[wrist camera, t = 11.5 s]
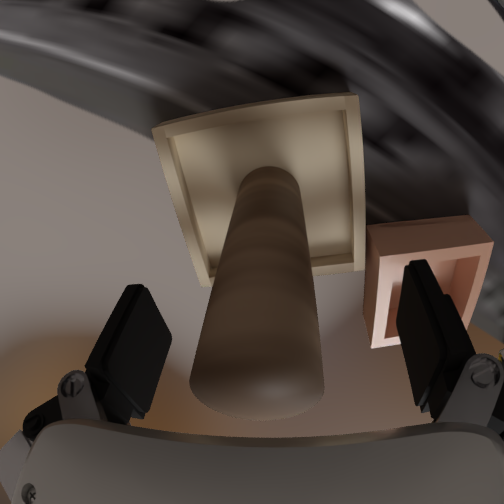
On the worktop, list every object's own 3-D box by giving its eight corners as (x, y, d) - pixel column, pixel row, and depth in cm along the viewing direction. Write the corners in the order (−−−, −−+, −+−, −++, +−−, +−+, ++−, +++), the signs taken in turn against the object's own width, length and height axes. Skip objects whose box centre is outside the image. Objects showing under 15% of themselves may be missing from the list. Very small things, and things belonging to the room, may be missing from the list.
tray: (162, 122, 19) (151, 128, 17) (350, 91, 17) (358, 95, 15) (206, 271, 25) (201, 287, 24) (359, 254, 23) (364, 270, 22)
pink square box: (365, 225, 22) (380, 256, 18) (469, 214, 20) (493, 241, 17) (362, 313, 27) (370, 348, 23) (450, 300, 25) (466, 330, 22)
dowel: (232, 171, 20) (169, 354, 8) (296, 162, 19) (323, 346, 7) (245, 225, 22) (210, 420, 10) (303, 218, 21) (324, 416, 9)
